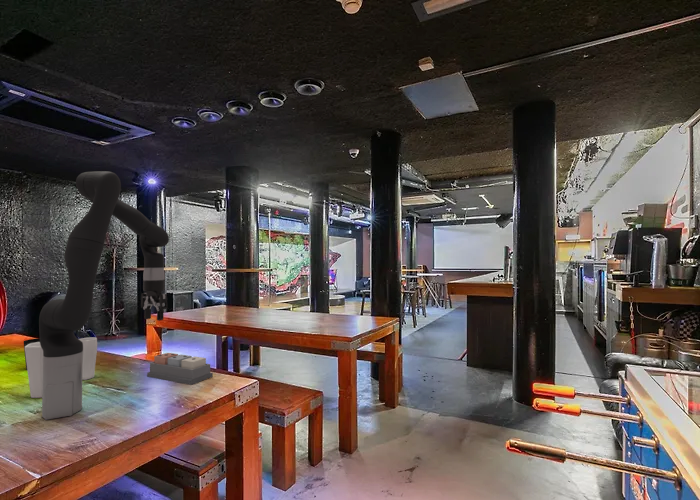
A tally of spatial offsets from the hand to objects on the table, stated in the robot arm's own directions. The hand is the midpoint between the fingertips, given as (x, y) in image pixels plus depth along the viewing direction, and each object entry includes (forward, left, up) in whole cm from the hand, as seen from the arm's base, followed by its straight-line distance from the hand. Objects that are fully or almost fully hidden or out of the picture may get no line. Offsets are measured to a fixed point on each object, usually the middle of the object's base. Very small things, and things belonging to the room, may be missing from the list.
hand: (153, 319), depth 142 cm
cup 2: (-7, +32, -22) cm, 39 cm away
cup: (+35, +45, -22) cm, 61 cm away
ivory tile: (-15, -14, -17) cm, 27 cm away
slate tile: (-9, -9, -17) cm, 22 cm away
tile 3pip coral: (-3, -5, -18) cm, 18 cm away
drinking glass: (+7, +23, -22) cm, 32 cm away
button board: (-9, -9, -22) cm, 25 cm away
